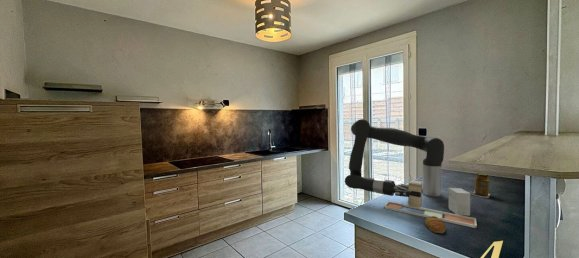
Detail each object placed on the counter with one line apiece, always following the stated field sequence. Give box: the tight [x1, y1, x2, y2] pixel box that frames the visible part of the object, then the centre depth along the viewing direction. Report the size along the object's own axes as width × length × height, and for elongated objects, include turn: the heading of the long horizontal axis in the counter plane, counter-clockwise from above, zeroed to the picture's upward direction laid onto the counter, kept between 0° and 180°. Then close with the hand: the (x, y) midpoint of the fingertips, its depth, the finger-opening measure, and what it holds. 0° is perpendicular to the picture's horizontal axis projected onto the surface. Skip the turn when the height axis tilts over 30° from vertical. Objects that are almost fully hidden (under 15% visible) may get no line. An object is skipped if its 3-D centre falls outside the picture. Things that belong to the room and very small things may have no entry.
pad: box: [423, 211, 443, 218], centre depth 105 cm, size 7×7×1 cm
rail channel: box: [383, 200, 478, 229], centre depth 107 cm, size 9×36×1 cm, turn 53°
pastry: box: [424, 216, 447, 234], centre depth 93 cm, size 9×7×4 cm
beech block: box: [407, 180, 423, 208], centre depth 109 cm, size 5×5×11 cm
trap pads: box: [387, 203, 475, 225], centre depth 107 cm, size 7×35×1 cm, turn 53°
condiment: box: [471, 172, 491, 199], centre depth 132 cm, size 7×8×12 cm
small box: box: [448, 187, 471, 217], centre depth 108 cm, size 8×6×10 cm
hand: (421, 193), depth 108 cm, fingers closed on beech block, 5 cm apart
